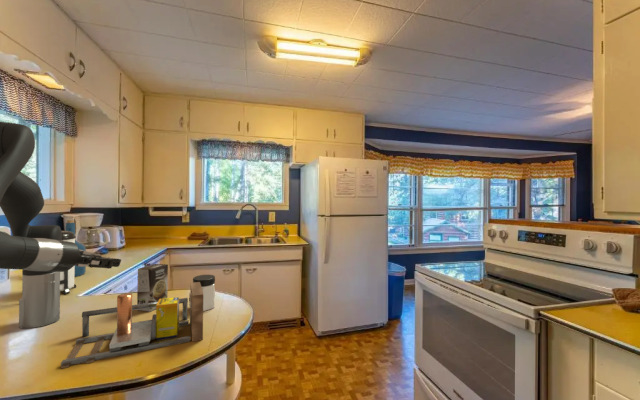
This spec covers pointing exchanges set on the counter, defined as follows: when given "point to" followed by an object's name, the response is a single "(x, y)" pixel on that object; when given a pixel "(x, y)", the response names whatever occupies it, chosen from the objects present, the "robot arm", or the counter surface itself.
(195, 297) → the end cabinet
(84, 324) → the handrail
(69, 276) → the coffee press
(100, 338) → the track
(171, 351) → the counter surface
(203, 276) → the jar
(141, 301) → the coffee box
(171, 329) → the supplement box
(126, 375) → the counter surface
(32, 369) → the counter surface
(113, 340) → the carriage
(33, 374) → the counter surface
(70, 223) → the teal bottle
